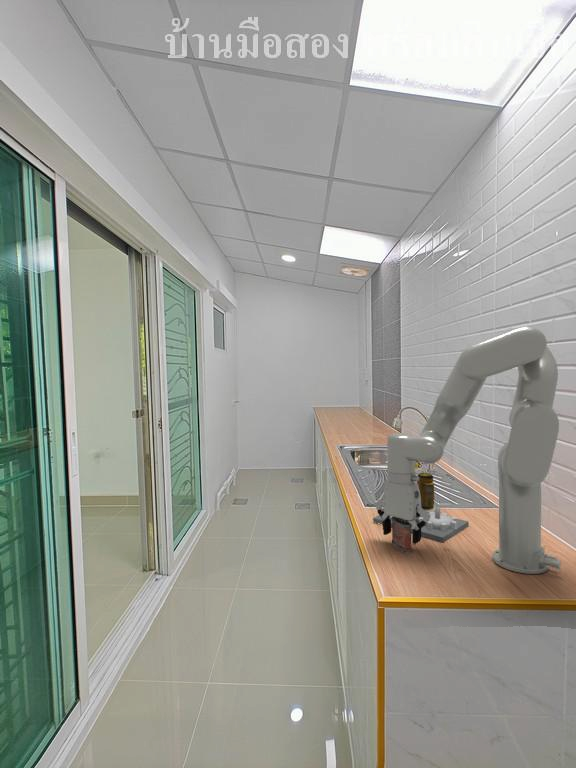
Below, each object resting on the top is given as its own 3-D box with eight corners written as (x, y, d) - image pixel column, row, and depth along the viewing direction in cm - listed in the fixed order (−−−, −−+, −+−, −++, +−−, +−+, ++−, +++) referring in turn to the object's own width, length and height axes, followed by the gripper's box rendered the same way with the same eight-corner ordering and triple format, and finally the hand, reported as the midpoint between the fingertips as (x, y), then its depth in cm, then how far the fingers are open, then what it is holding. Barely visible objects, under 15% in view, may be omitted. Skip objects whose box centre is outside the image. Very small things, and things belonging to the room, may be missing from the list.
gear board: (468, 526, 135) (468, 506, 134) (443, 542, 122) (442, 520, 122) (401, 509, 152) (401, 491, 152) (373, 522, 139) (372, 502, 139)
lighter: (414, 552, 116) (414, 516, 116) (404, 553, 115) (403, 517, 115) (399, 541, 124) (398, 507, 123) (388, 542, 123) (388, 508, 123)
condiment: (433, 504, 157) (433, 472, 157) (437, 511, 149) (437, 478, 149) (413, 503, 159) (413, 471, 158) (416, 510, 150) (416, 477, 150)
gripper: (436, 480, 115) (436, 542, 116) (382, 470, 128) (382, 526, 128) (423, 485, 110) (423, 551, 110) (367, 474, 122) (368, 533, 123)
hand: (401, 537), depth 119 cm, fingers open, 8 cm apart
